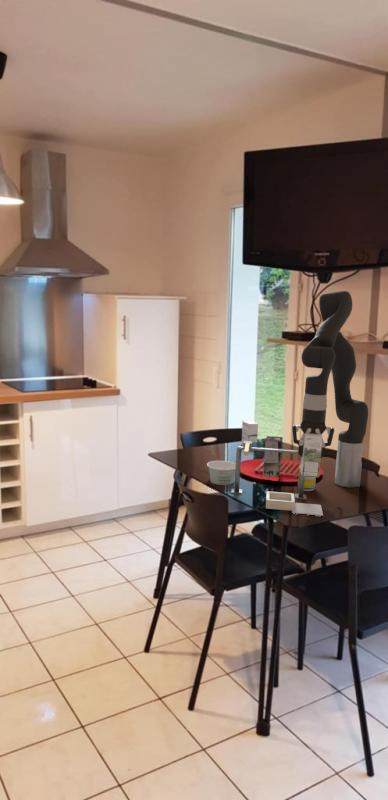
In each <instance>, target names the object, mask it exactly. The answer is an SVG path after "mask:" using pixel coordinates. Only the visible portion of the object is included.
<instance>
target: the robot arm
mask: <svg viewBox="0 0 388 800" xmlns="http://www.w3.org/2000/svg"><path fill="white" fill-rule="evenodd" d="M318 300H319V301H318V308H319V312H320V317H321V321H322V322H321V324H320V325H319V326H318V328H317V329H316V332H315V335H314V337H313V338H312V340H311V341H309V342H308V344H307V345H306V346H305V347H304V349H303V350H302V353H301V362H302V364H303V366H305V367H307V368H312V369H321V372H320V373H318V374H310V375H308V376H307V377H305V385H304V386H305V387H304V396H303V402H302V417H301V422H300V424H292V425H291V426H292V427H291V428H292V430H291V431H292V441H293V444H296V445H298V447H297V448H298V450H297V451H298V454H297V455H299V457H300V458H301V457H302V454H303V443H304V437H305V434H309V433H312V434H318V435H321V434H322V435H324V433H325V431H326V433H327V439H326V441H324V438H323V437H322V449H321V459H322V458H323V457H325V454H326V453H325V452H326V451H325V449H326V447H330V446H331V445H332V441H333V437H334V434H335V428H334V427H333V426H331V427H329V426H327V425H326V419H327V418H326V416H327V408H328V403H327V401H328V399H327V398H328V397H327V395H328V394H327V393H328V383H329V378H330V374H332V382H333V389H334V390H333V391H334V404H335V406H334V407H335V413H336V416H337V418H338V420H340V421H342V422H344V423H347V424H348V428H347V429H346V430H344V431H340V432H339V433H338V437H337V451H336V458H335V459H336V461H335V472H334V473H335V474H334V484H335V485H337V486H340V487H344V488H360V487H361V479H362V467H363V466H362V465H363V462H362V454H363V444H364V438H365V436H366V432H367V426H368V420H369V406H368V404H367V403H366V402H365V401H362V400H359V399H354V398H352V395H351V389H350V388H351V382H352V379H353V378H354V375H355V373H356V369H357V360H356V354H355V350H354V347H353V346H352V344H351V343H350V342H349V341H348V339H347V338H345V336H344V335H343V334H342V333H341V332H340V330H341V329H342V328H343V326H344V325H345V323H346V322H347V320H348V319H349V318H350V315H351V313H352V310H353V299H352V296H351V293H350V292H349V291H347V290H338V291H332V292H325V293H324V292H323V293H322V294H320V296H319V299H318ZM300 429H301V432H302V435H301V436H300V438H299V439H298V435H297V432H299V430H300Z"/></svg>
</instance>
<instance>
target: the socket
mask: <svg viewBox="0 0 388 800" xmlns="http://www.w3.org/2000/svg"><path fill="white" fill-rule="evenodd" d="M295 501H296V499H295V493H294V492H293V493H292V492H284V491H283V492H280V491H279V492H278V491H269V490H266V497H265V510H266V509H268V510H269V509H271V510H281V511H290V512H292V509H294V506H295V503H296V502H295Z"/></svg>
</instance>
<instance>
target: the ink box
mask: <svg viewBox="0 0 388 800" xmlns="http://www.w3.org/2000/svg"><path fill="white" fill-rule="evenodd" d="M241 422H242V424H241V445H242V446H243V443H244V441H251V442H252V447H256V448H258V436H259V435H258V431H259V430H258V429H259V423H257V422H255V421H253V420H250V419H249V420H242V421H241Z"/></svg>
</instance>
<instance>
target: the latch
mask: <svg viewBox="0 0 388 800" xmlns="http://www.w3.org/2000/svg"><path fill="white" fill-rule="evenodd" d="M242 446H243V447H245V449H244V450H243V456H249V451H250V450H249V448H252V442H251V441H244V443H243V445H242Z"/></svg>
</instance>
